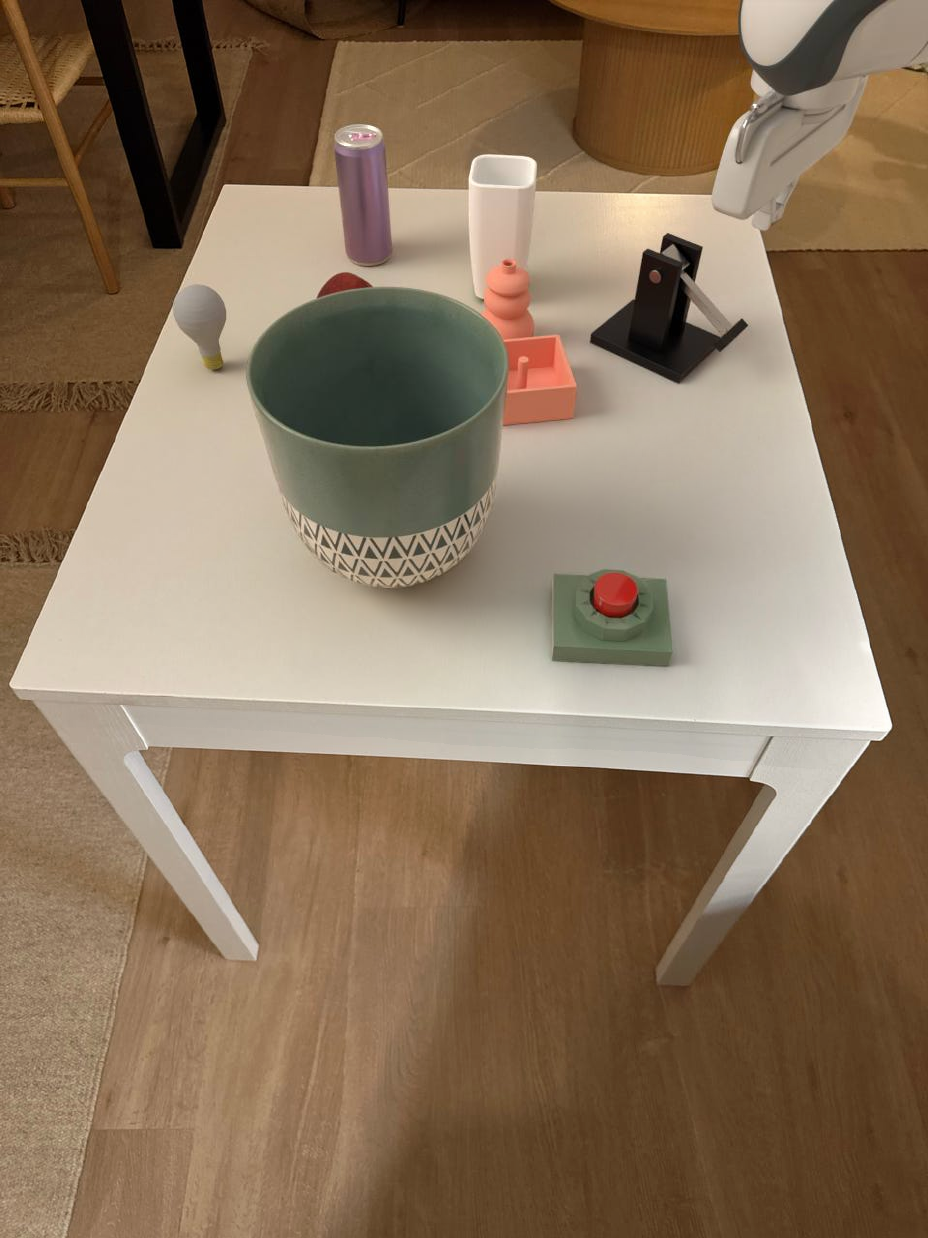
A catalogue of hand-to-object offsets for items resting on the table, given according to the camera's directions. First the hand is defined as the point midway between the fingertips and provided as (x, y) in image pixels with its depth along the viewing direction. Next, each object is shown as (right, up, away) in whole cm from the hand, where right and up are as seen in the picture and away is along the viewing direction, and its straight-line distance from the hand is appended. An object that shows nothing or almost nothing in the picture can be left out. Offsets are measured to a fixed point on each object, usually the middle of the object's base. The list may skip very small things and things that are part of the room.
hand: (765, 223), depth 87 cm
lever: (-5, -4, +11) cm, 12 cm away
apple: (-43, -6, +18) cm, 47 cm away
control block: (-17, -39, -8) cm, 43 cm away
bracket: (-7, -6, +17) cm, 20 cm away
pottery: (-24, -10, +15) cm, 30 cm away
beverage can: (-42, +9, +29) cm, 51 cm away
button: (-17, -37, -10) cm, 42 cm away
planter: (-36, -32, -2) cm, 48 cm away
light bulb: (-58, -10, +15) cm, 60 cm away
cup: (-25, +2, +24) cm, 35 cm away
